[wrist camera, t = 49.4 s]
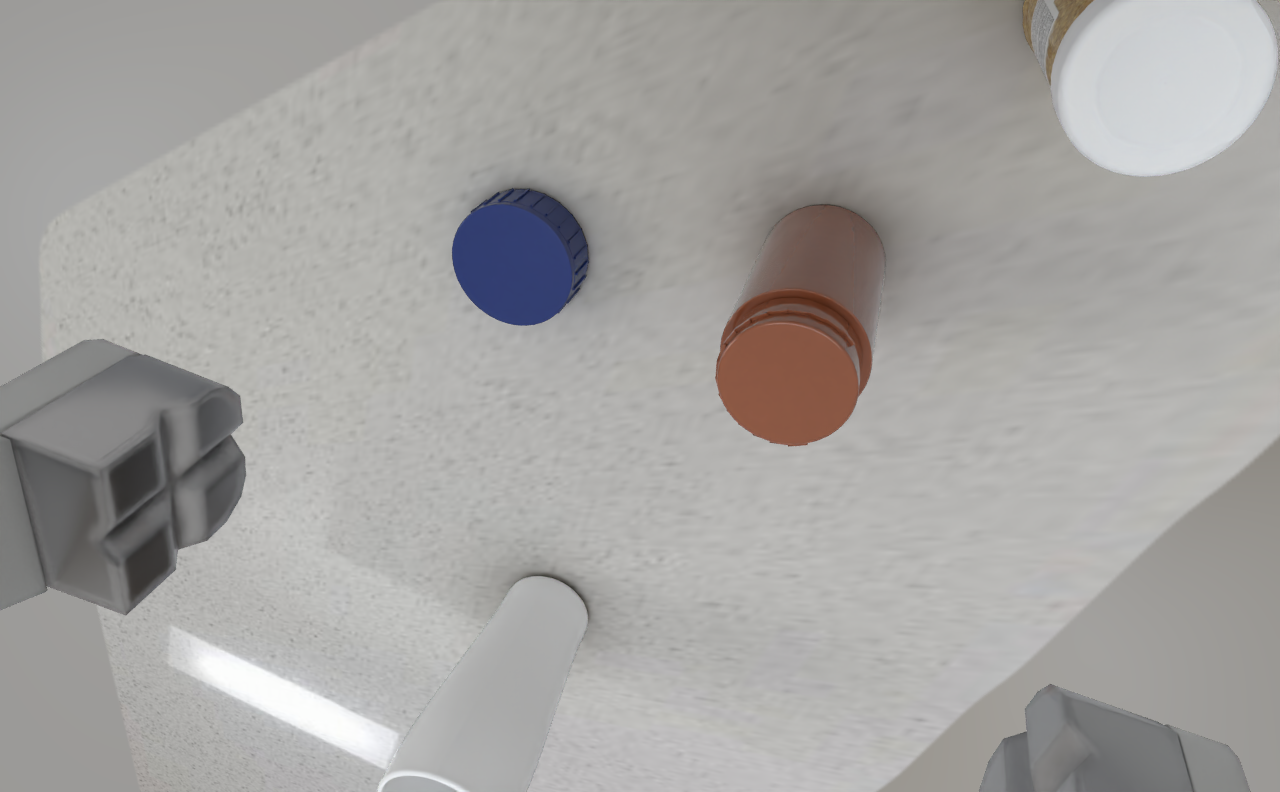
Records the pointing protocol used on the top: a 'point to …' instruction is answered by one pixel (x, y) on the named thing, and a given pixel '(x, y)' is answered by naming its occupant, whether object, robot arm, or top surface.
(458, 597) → the top surface
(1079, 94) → the sprinkles bottle
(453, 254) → the jar lid
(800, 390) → the jar
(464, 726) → the drinking glass
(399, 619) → the top surface
